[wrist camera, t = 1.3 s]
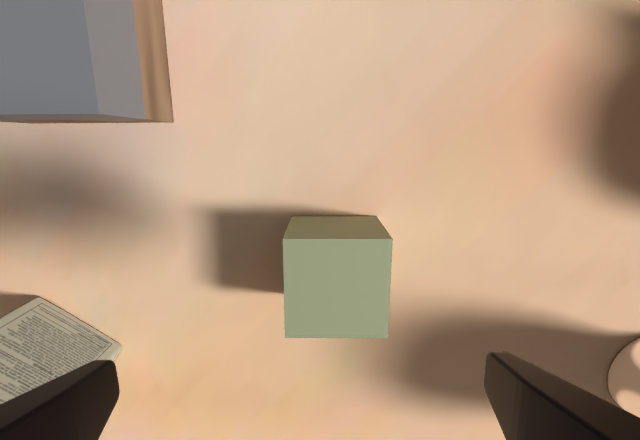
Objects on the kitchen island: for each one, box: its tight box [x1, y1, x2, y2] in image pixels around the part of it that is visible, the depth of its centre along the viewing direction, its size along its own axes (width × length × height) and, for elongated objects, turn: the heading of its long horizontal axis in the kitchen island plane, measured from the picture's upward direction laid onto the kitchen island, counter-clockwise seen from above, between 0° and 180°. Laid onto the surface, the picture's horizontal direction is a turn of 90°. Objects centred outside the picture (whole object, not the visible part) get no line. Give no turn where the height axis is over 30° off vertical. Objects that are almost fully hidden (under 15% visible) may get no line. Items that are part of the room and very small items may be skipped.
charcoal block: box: [0, 0, 146, 121], centre depth 14 cm, size 8×8×4 cm
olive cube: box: [283, 216, 393, 338], centre depth 19 cm, size 5×5×5 cm
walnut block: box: [0, 0, 174, 123], centre depth 17 cm, size 8×8×4 cm
